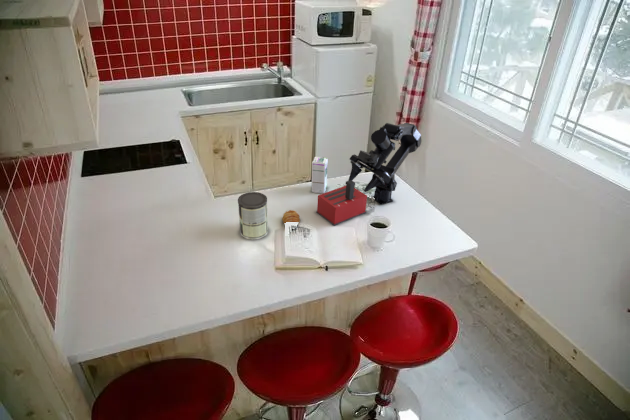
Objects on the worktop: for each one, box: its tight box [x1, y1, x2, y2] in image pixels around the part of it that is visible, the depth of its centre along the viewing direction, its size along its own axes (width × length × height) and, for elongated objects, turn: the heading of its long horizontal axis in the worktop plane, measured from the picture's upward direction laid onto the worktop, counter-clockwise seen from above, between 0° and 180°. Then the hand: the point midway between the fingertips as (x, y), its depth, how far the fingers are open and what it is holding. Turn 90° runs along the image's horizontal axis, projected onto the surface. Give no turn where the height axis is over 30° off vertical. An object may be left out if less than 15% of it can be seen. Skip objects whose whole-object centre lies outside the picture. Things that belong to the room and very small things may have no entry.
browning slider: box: [345, 179, 356, 200], centre depth 167 cm, size 2×3×7 cm
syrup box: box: [311, 156, 329, 194], centre depth 186 cm, size 6×6×14 cm
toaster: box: [316, 185, 368, 227], centre depth 173 cm, size 16×11×8 cm
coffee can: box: [237, 191, 269, 241], centre depth 158 cm, size 10×10×14 cm
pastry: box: [281, 209, 301, 224], centre depth 166 cm, size 9×7×4 cm
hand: (356, 186), depth 169 cm, fingers open, 9 cm apart
